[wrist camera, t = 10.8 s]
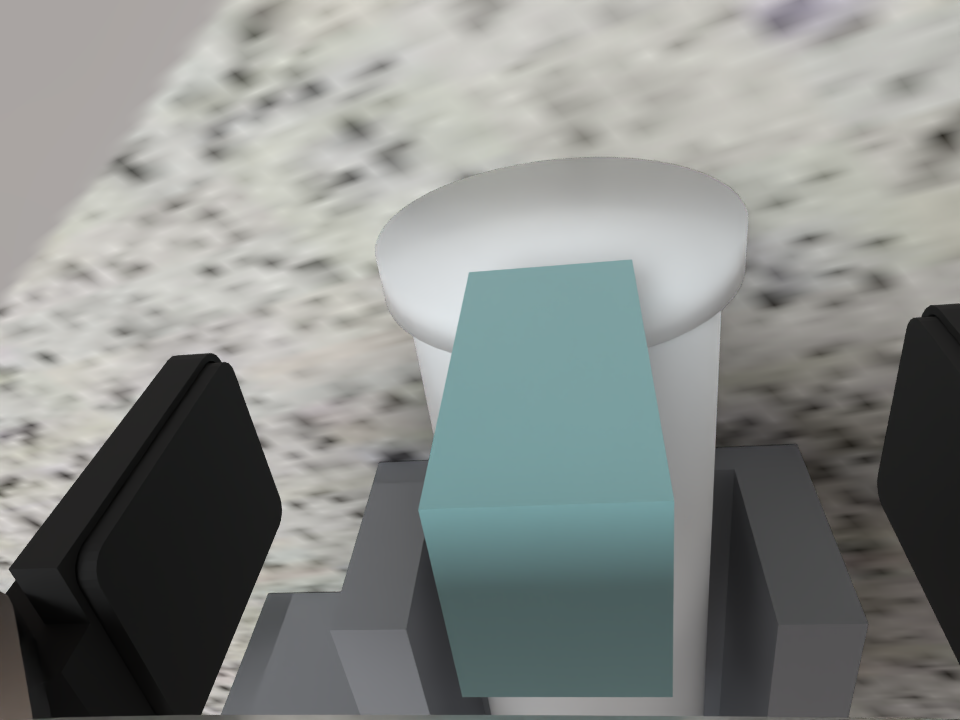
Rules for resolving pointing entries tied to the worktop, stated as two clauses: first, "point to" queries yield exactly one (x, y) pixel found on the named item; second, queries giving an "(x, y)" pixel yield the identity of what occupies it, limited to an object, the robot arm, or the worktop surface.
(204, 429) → the robot arm
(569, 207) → the cartridge
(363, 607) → the housing
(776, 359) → the worktop surface
